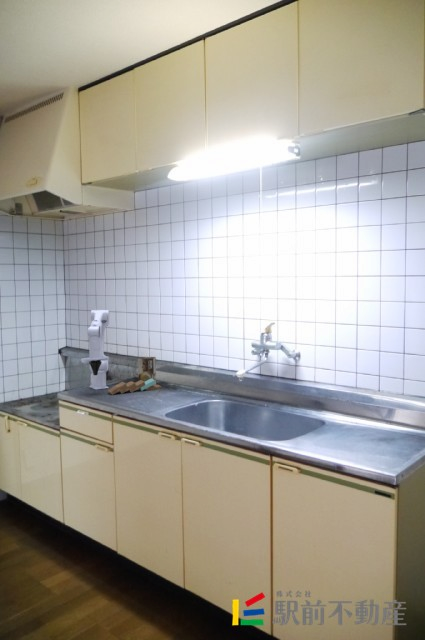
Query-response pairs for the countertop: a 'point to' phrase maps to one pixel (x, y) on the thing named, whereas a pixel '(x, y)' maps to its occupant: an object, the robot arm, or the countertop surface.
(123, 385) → the domino
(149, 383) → the domino
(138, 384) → the domino
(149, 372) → the coffee box
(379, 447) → the countertop surface
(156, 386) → the domino
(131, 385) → the domino
